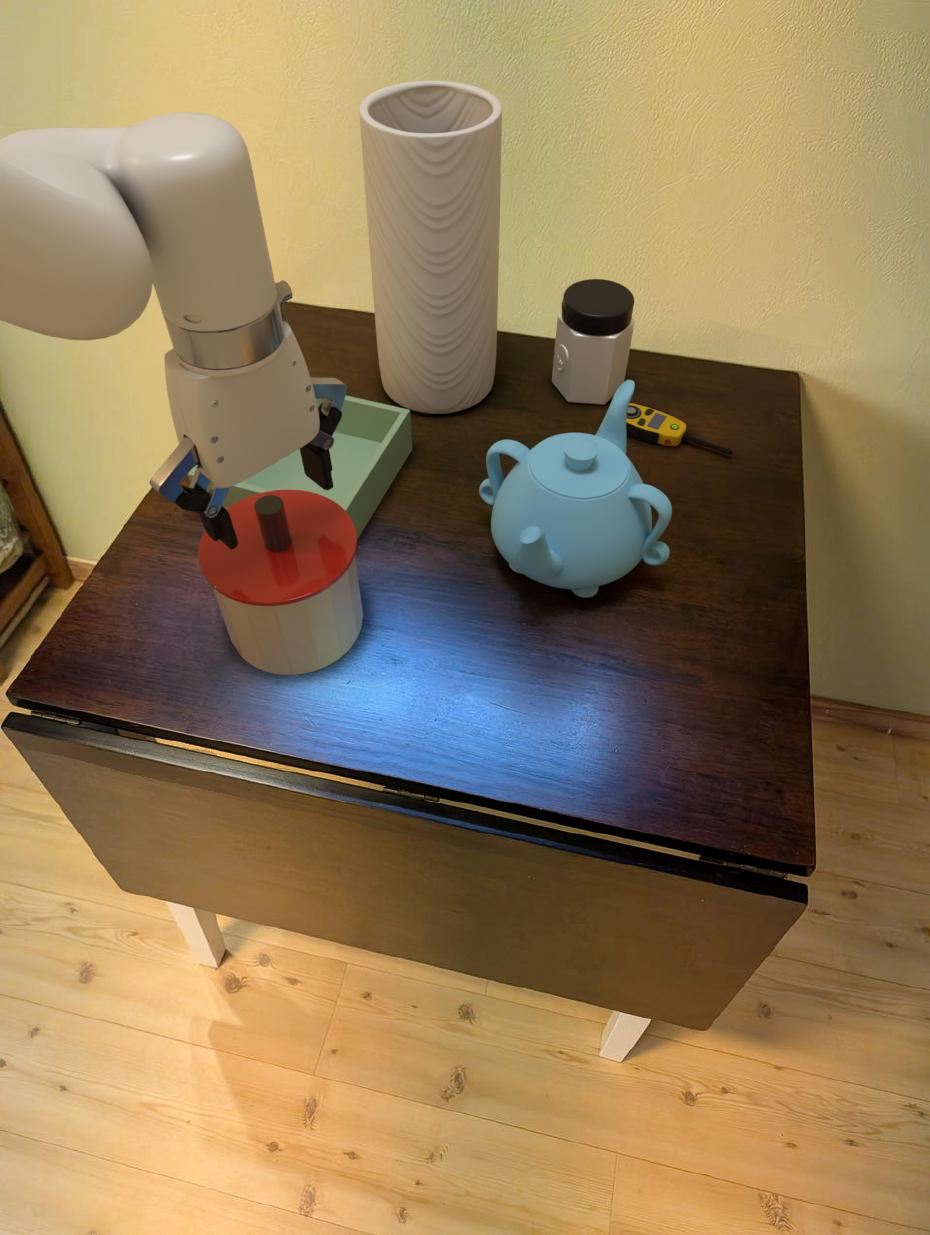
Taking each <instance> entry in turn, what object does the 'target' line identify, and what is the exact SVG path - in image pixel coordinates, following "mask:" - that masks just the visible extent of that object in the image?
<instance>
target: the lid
mask: <svg viewBox="0 0 930 1235" xmlns="http://www.w3.org/2000/svg"><path fill="white" fill-rule="evenodd" d="M226 510H227V511H228V512H229V514H230V518H231V521H232V524H233V527H234V530H235V533H236V537H237V540H238V543H239V544H238V545H237V547H236V548H234V549H233V550H231V549H230V548H229V547H227V546H226V545H225V544H224V543H223V542H222V541H221V540H220V539H219V540H217V541H214V540H213V539H212V538H210V537H209V535H208V534H207V532H206V531H205V530H204V532H203V533H202V535H201V538H200V541H199V544H198V550H197V551H198V552H197V553H198V555H197V557H198V563H199V567H200V569H201V572H202V575H203V577H204V578H205V580H206V581H207V583H209V585H210V586H211V587H212V589H213V588H214V589H215V590H217V591H218V592H219V593H221V594H222V595H224V596H226V597H227V598H230V599H232V600H235V601H237V602H241V603H244V604H249V605H255V606H280V605H287V604H292V603H296V602H300V601H303V600H306V599H308V598H311V597H313V596H315V595H317V594H319V593H321V592H323V591H324V590H326V589H328V588H329V587H330V586H332V585H333V584H334V583H336V582H337V581H338V580H339V579H340V578H341V577H342V576H343V575H344V573H345V572H346V571H347V570H348V568H349V567H350V565H351V563H352V561H353V559H354V556H355V557H356V553H357V548H358V540H357V535H356V529H355V526H354V523H353V521H352V519H351V517H350V516H349V515H348V513H347V512H346V511H345V510H344V509H343V508H342V507H341V506H340V505H339V504H337V503H336V502H334V501H333V500H331V499H329V498H327V497H325V496H322V495H319V494H316V493H313V492H309V491H302V490H274V491H268V492H263V493H259V494H255V495H252V496H249V497H247V498H244V499H242V500H240V501H238V502H236V503H234V504H232V505H231V506H229V507H228V508H226Z"/></svg>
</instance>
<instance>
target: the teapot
mask: <svg viewBox="0 0 930 1235" xmlns="http://www.w3.org/2000/svg"><path fill="white" fill-rule="evenodd" d="M635 385H636V384H635V381H634V380H632V379H626V380H624V383H622V384H621V386H620V387H619V388H618V389H617V391H616V393H615V395H614V396H613V397H612V398H611V402H610V403H609V407H608V409H607V411H606V413H605V416H604V418H603V420H602V422H601V423H600V426H599V427H598V429H597V431H596V433H595V435H594V434H591V433H586V432H565V433H559V434H555V435H551V436H549V437H547V438H545V439H543V440H542V441H540V442H538V443H537V444H535V445H534V446H533V447H531V449H530V448H529V447H527V446H526V445H525V444H523V443H521V442H520V441H517V440H514V439H502V440H499V441H496V442H495V443H493V444H492V445H491V446H490V448H489V449H488V450H487V453H486V457H485V465H486V467H485V468H486V472H487V476H488V478H485V479H484V480H483V481H482V482H481V483H480V486H479V489H478V493H479V494H478V495H479V496H480V498H481V499H482V501H484V502H485V503H486V504H487V505H489V506H492V510H491V516H490V517H491V518H490V531H491V532H490V533H491V537H492V539H493V542H494V544H495V546H496V548H497V550H498V552H499V554H500V555H501V556H502V557H503V559H504V560H505V561H506V562H507V563H508V565H509V568H510V570H512V571H513V572H515V573H518V574H522V575H524V576H526V577H527V578H529V579H530V580H533V581H535V582H538V583H540V584H543V585H546V586H549V587H553V588H558V589H564V590H571V592H572V593H573V594H574V595H576V596H577V597H580V598H592V597H594V596H595V595H596V594H598V592H599V587H601V586H605V585H607V584H610V583H612V582H615V581H617V580H619V579H621V578H623V577H624V576H626V575H627V574H629V573H630V572H631V571H633V570H634V569H635V567H636V566H638V564H639V563H640V562H641V561H643V562H644V563H646V564H648V565H650V566H661V565H663V564H664V563H666V562H667V561H668V559H669V557H670V555H671V554H670V553H671V551H670V547H669V546H668V544H667V543H665V542H663V541H661V540H659V538H660V537H661V536H662V535H663V533H664V532H665V531H666V529H667V528H668V525H669V524H670V521H671V519H672V516H673V507H672V506H673V505H672V503H671V501H670V499H669V498H668V496H667V495H666V494H665V493H663V491H661V490H660V489H658V488H657V487H655V486H653V485H650V484H646V483H644V482H643V479H642V477H641V476H640V474H639V472H638V471H637V469H636V467H635V465H634V463H633V462H632V460H630V458H629V457H628V456H627V447H628V446H627V445H628V443H627V435H626V417H627V410H628V406H629V403H631V399H632V397H633V395H634V392H635V387H636V386H635ZM500 454H501V455H502V454H503V455H507V456H508V457H510V458H512V459H514V460H515V461H517V462H516V463H515V465H514V466H513V467H512V469H510V471H508V473H507V475H506V476H505V477H504V473H503V469H502V465H501V460H500V459H501V458H500ZM651 506H652V507H651ZM652 508H654V510H656V512H657V515H658V519H657V521H656V523H655V525H654V526H653V515H652Z"/></svg>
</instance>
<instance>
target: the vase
mask: <svg viewBox="0 0 930 1235" xmlns="http://www.w3.org/2000/svg"><path fill="white" fill-rule="evenodd" d="M501 103H502V102H500V99H499V98H497V96H495V95H494V94H492V93H491V92H489V91H488V90H485V89H483V88H480V87H478V86H476V85H472V84H468V83H464V82H458V81H449V80H414V81H407V82H400V83H395V84H391V85H389V86H384V87H383V88H380V89H377V90H375V91H374V92H372V93H370V94H369V95H367V96H366V97H365V98H364V99H362V101H361V103H360V105H359V111H358V112H359V124H360V125H359V126H360V139H361V140H360V141H361V152H362V154H361V155H362V166H363V169H362V170H363V179H364V194H365V195H364V196H365V207H366V220H367V221H366V222H367V231H368V232H367V235H368V246H369V259H370V272H371V273H370V274H371V283H372V295H373V296H372V297H373V308H374V309H373V310H374V320H375V324H374V325H375V336H376V347H377V356H378V365H379V372H380V379H381V383H382V387H383V391H384V392H385V393H386V395H387V396H388V397H389V398H390V399H391V400H392V401H394V402H395V403H396V404H398V405H399V406H401V407H402V408H404V409H408V410H410V411H413V412H417V413H422V414H430V415H444V414H445V415H446V414H453V413H457V412H461V411H464V410H467V409H469V408H472V407H473V406H475V405H477V404H479V403H481V402H482V401H483V400H484V399H485V398H486V397H487V396H488V395H489V393H490V392H492V391H491V390H492V389H493V387H494V381H495V374H496V366H497V365H496V363H497V350H498V348H497V346H498V345H497V344H498V313H499V312H498V307H499V306H498V305H499V273H500V272H499V266H500V224H501V185H502V182H501V181H502V137H503V136H502V133H503V131H502V130H503V108H502V107H503V106H502V104H501Z"/></svg>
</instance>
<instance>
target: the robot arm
mask: <svg viewBox="0 0 930 1235" xmlns="http://www.w3.org/2000/svg"><path fill="white" fill-rule="evenodd" d="M252 166H253V165H252V161H251V157H250V153H249V149H248V146H247V143H246V142H245V138H244V137H243V136H242V134H241V133H240V132H239V130H238V129H237V128H236V127H235V126H234V125H233V124H232V123H230V122H229V121H227V120H225V119H224V118H221V117H220V116H216V115H213V114H210V113H203V112H190V111H189V112H186V111H185V112H173V113H172V112H171V113H165V114H161V115H157V116H153V117H150V118H147V119H144V120H142V121H139V122H137V123H136V124H134V125H130V126H112V127H111V126H110V127H107V126H105V127H39V128H37V127H36V128H31V129H23V130H20V131H17V132H13V133H9V134H8V135H6V136H4V137H2V138H1V139H0V321H2V322H4V323H7V324H9V325H12V326H15V327H18V328H21V329H24V330H27V331H30V332H33V333H37V334H40V335H43V336H47V337H51V338H56V339H62V340H70V341H86V342H87V341H95V340H102V339H107V338H110V337H113V336H115V335H116V336H117V335H118V334H120V333H122V332H123V331H125V330H127V329H129V328H130V327H131V326H133V324H134V323H135V322H136V321H137V320H139V318H141V316H142V314H143V313H144V312H145V310H146V308H147V307H148V304H149V301H150V298H151V296H152V290H153V289H154V291H155V294H156V297H157V300H158V304H159V307H160V310H161V314H162V317H163V319H164V323H165V326H166V329H167V330H166V331H167V332H168V335H169V338H170V342H171V345H172V348H171V349H169V350H168V351H167V352H165V354H164V360H163V361H164V362H163V363H164V377H165V386H166V393H167V399H168V405H169V409H170V414H171V419H172V423H173V427H174V431H175V435H176V438H177V442H178V444H177V446H176V448H175V449H174V450H173V451H172V452H171V454H169V456H168V457H167V458H166V459H165V460H164V462H163V463H162V465H161V466H160V467H159V468H158V469H157V470H156V472H155V473H154V474H153V476H151V478H150V480H149V485H150V487H152V489H153V490H155V491H156V492H157V493H158V494H159V495H160V496H162V497H163V498H165V499H167V501H169V502H171V503H172V504H174V505H176V506H177V507H179V508H180V509H181V510H184V511H188V512H193V513H198V514H199V517H200V520H201V523H202V526H203V529H204V532H205V531H206V532H207V534H208V535H209V537H210V538H212V539H213V540H214V541H217V540H219V539H220V540H221V541H222V542H223V543H224V544H225V545H226V546H227V547H229V548H230V549H231V550H233V549H234V548H236V547H237V545H238V544H239V543H238V540H237V537H236V533H235V530H234V527H233V524H232V521H231V518H230V514H229V512H228V511H227V510H226V509H225V508H224V507H223V506H222V504H223V502H224V500H225V497H226V495H227V492H228V490H229V487H231V486H234V485H236V484H239V483H241V482H243V481H244V480H246V479H248V478H250V477H252V476H254V475H255V474H257V473H259V472H261V471H262V470H264V469H266V468H268V467H269V466H271V465H273V464H275V463H276V462H278V461H280V460H281V459H283V458H285V457H286V456H288V455H290V454H292V453H293V452H295V451H296V450H298V449H300V453H301V458H302V462H303V467H304V472H305V474H306V476H307V477H309V478H310V479H311V480H312V481H314V482H315V483H316V484H318V485H319V486H320V487H321V488H323V489H324V490H330V489H331V488H333V480H332V475H331V471H332V463H331V457H330V452H329V449H330V448H331V447H332V446H333V444H334V438H333V437H332V435H333V433H334V431H335V429H336V428H337V426H338V424H339V422H340V420H341V418H342V412H341V411H340V410H341V407H343V403H344V399H345V396H347V391H348V386H347V384H345V383H344V382H342V381H341V380H339V379H338V378H336V377H312V376H311V375H310V372H309V369H308V366H307V363H306V359H305V357H304V355H303V352H302V350H301V347H300V345H299V342H298V340H297V338H296V336H295V334H294V332H293V329H292V328H291V325H290V324H289V323H288V322H287V321H286V320H285V317H284V312H283V306H284V305H285V304H286V302H288V301H290V300H292V299H293V291H292V288H291V286H290V284H289V283H288V282H287V281H286V280H285V279H282V280H280V281H277V282H275V276H274V270H273V266H272V262H271V256H270V251H269V246H268V242H267V237H266V232H265V227H264V222H263V217H262V212H261V206H260V202H259V197H258V196H259V195H258V192H257V186H256V181H255V176H254V170H253V167H252ZM319 398H323V399H322V401H323V402H322V403H321V404H320V406H319V407H318V405H317V401H316V399H319ZM197 465H198V466H197ZM195 466H197V468H196V471H195V474H194V476H193V479H192V481H191V483H190V484H189V486H186V485H185V486H184V485H181V483H182V481H183V480H184V479H185V477H187V476H188V473H189V472H190V471H191V469H192V468H193V467H195ZM210 481H211V482H212V483H213V484H212V486H211V489H210V491H209V493H208V492H206V490H207V487H208V485H209V482H210Z"/></svg>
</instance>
